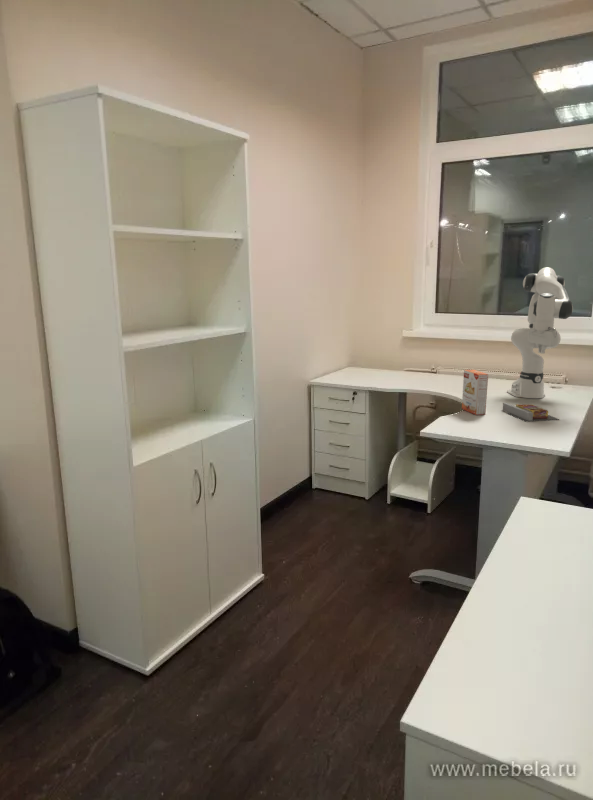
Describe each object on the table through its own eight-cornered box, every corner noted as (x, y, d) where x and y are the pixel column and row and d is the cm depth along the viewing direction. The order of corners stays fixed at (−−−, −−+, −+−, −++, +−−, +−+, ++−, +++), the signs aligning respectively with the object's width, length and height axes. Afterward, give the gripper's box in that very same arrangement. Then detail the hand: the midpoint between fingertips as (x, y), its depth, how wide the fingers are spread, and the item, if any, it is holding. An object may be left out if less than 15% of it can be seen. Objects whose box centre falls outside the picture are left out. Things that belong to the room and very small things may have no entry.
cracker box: (460, 409, 298) (463, 369, 293) (471, 408, 299) (474, 369, 294) (475, 415, 284) (478, 374, 280) (485, 414, 286) (489, 373, 281)
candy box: (532, 403, 290) (549, 410, 275) (531, 411, 291) (547, 419, 276) (515, 403, 289) (531, 411, 274) (514, 411, 290) (530, 419, 275)
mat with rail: (499, 410, 294) (500, 403, 294) (531, 409, 298) (531, 401, 297) (525, 421, 272) (526, 413, 272) (559, 419, 276) (560, 411, 275)
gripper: (562, 328, 280) (559, 356, 284) (537, 323, 300) (535, 349, 303) (551, 328, 279) (548, 356, 282) (526, 324, 299) (524, 350, 302)
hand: (541, 353), depth 293 cm, fingers closed
